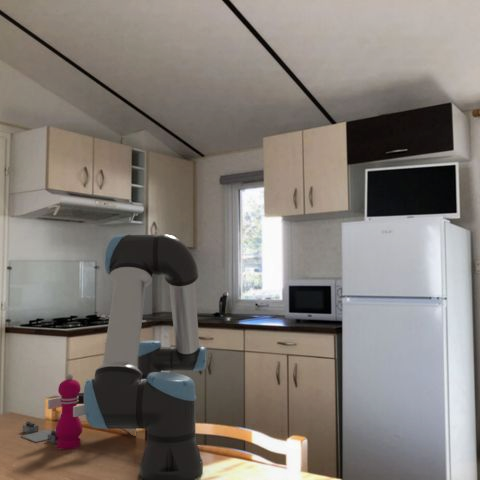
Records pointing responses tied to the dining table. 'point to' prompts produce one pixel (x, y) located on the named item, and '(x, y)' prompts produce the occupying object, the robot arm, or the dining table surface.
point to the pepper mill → (68, 415)
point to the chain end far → (30, 427)
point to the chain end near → (53, 437)
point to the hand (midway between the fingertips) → (60, 407)
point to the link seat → (38, 436)
